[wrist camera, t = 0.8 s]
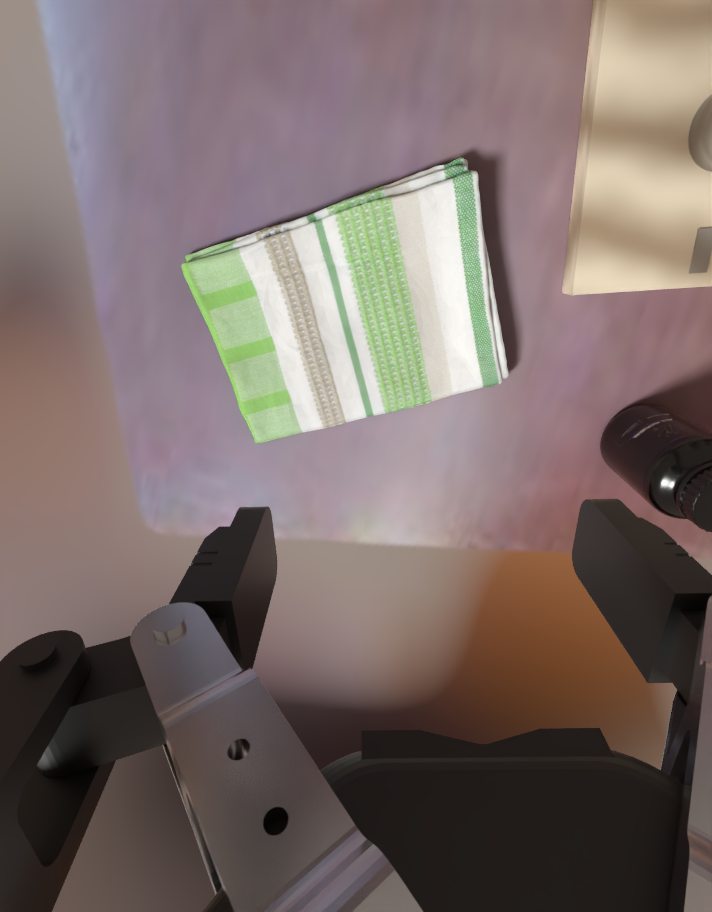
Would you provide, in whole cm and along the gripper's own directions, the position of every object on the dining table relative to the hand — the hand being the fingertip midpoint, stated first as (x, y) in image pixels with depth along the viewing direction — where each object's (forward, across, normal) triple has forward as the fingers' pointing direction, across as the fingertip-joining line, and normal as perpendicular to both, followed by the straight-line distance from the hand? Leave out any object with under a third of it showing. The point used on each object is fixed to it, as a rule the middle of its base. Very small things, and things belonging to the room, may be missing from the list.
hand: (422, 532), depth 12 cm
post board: (+29, -23, -13) cm, 40 cm away
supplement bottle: (+29, -23, +10) cm, 38 cm away
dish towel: (+30, +2, -2) cm, 30 cm away
